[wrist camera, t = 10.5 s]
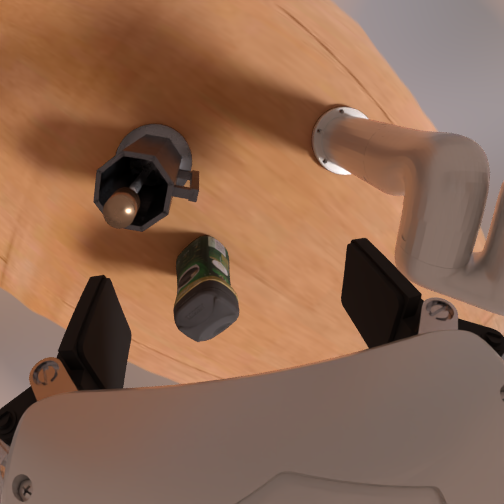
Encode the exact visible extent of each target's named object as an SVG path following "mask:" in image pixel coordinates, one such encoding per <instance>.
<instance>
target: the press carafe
mask: <svg viewBox="0 0 504 504" xmlns="http://www.w3.org/2000/svg"><path fill="white" fill-rule="evenodd" d="M131 157H133V158H139V159H145V160H151V161H152V162H153V163H154V164H155V166H156V167H157V169H158V170H159V172H160V173H161V175H162V176H163V177H164V179H165V180H166V181H165V182H163V183H161V184H159V185H155V186H148V185H144V184H143V185H142V187H141V188H140V190H139V192H138V193H137V194H138V196H139V198H140V207H139V209H138V211H137V213H136V215H135V217H134V219H133V221H132V223H131V224H130V225H129V226H127V227H125V228H124V229H130V230H136V231H141V232H143V231H144V230H146V229H147V228H149V227H150V226H152V225H153V224H155V223H156V222H158V221H159V220H161V219H162V218H164V217H165V216H167V215H168V214H169V210H170V206H171V202H172V198H173V196H174V197H180V198H185V199H188V201H193V202H196V201H197V196H198V192H199V171H194V170H193V171H191V167H192V155H191V150H190V148H189V145H188V143H187V141H186V140H185V138H184V137H183V136H182V135H181V134H180V133H179V132H178V131H176V130H175V129H173V128H171V127H169V126H166V125H162V124H148V125H144V126H141V127H139V128H137V129H135V130H133V131H132V132H130V133H129V134H128V135H127V136H126V137H125V138H124V139H123V140H122V142H121V143H120V145H119V147H118V149H117V152H116V156H114V157H113V158H112V159H110V160H109V161H108V162H107V163H105V164H104V165H103V166H102V167H100V168H99V169H98V170H97V173H96V182H95V192H94V203H95V204H96V206H97V207H98V208H99V210H100V211H101V212H102V214H103V207H104V205H105V203H106V202H107V201H108V199H109V198H110V197H111V196H112V194H113V193H114V192H115V191H116V190H118V189H119V188H123V187H127V188H129V187H130V186H131V185H132V183H133V182H134V181H135V177H134V176H133V174H132V172H131V168H130V161H131ZM187 180H190V187H184V184H185V183H186V181H187Z"/></svg>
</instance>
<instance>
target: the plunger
mask: <svg viewBox="0 0 504 504" xmlns="http://www.w3.org/2000/svg"><path fill="white" fill-rule="evenodd" d="M130 168H131V172H132V174H133V176H134V177H135V181H134V182H133V183H132V185H131V186H130V187H129V188H127V187H123V188H119V189H118V190H116V191H115V192H114V193H113V194H112V196H111V197H110V198H109V199H108V201H107V202H106V203H105V205H104V207H103V216H104V219H105V220H106V222H107V223H108V224H109V225H110V226H112V227H114V228H119V229H121V228H125V227H127V226H129V225H130V224H131V223H132V221H133V219H134V217H135V215H136V213H137V211H138V209H139V207H140V198H139V196H138V194H137V193H138V192H139V190H140V188H141V187H142V185H143V184H144V185H148V186H155V185H159V184H161V183H163V182H165V181H166V180H165V179H164V177H163V176H162V175H161V173H160V172H159V170H158V169H157V167H156V166H155V164H154V163H153V162H152V161H151V160H145V159H139V158H133V157H131V161H130Z"/></svg>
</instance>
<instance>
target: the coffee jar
mask: <svg viewBox="0 0 504 504" xmlns="http://www.w3.org/2000/svg"><path fill="white" fill-rule="evenodd" d="M176 272H177V297H176V301H175V304H174V320H175V323H176V326H177V328H178V329H179V330H180V331H181V332H182V333H184V334H185V335H186V336H188V337H189V338H191V339H193V340H195V341H197V342H199V341H206V340H209V339H212V338H213V337H215V336H216V335H218V334H220V333H221V332H222V331H224V330H225V329H226V328H228V327H229V326H230V325H231V324H232V323H234V322H235V321H236V320H237V318H238V316H239V306H238V297H237V295H236V293H235V291H234V290H233V288H232V287H231V284H230V274H229V256H228V252H227V250H226V249H225V247H224V246H223V245H222V244H221V243H220V242H219V241H218V240H216V239H215V238H213V237H211V236H202V237H199V238H198V239H196V240H195V241H193V242H192V243H191V244H190V245H189V246H187V247H186V248H185V249H184V250H183V251H182V253H181V254H180V255H179V256H178V258H177V261H176Z"/></svg>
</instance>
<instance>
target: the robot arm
mask: <svg viewBox="0 0 504 504" xmlns="http://www.w3.org/2000/svg"><path fill="white" fill-rule="evenodd" d="M339 110H340V113H339ZM317 130H319V132H317ZM312 147H313V151H314V154H315V157H316V158H317V160H318V161H319V163H320V164H321V165H322V166H323V167H324V168H326V169H327V170H329V171H331V172H333V173H336V174H340V175H349V174H353V175H355V176H357V177H359V178H360V179H362V180H364V181H366V182H367V183H369V184H371V185H372V186H374V187H376V188H377V189H379V190H381V191H382V192H384V193H387V194H389V195H394V196H403V195H404V201H403V210H402V216H401V221H400V226H399V231H398V236H397V242H396V247H395V263H396V266H397V268H398V269H397V268H396V267H395V266H394V265H393V264H392V263H391V262H390V261H389V260H388V259H387V258H386V257H385V256H384V255H383V254H382V253H381V252H380V251H379V250H378V249H377V248H376V247H375V246H374V245H373V244H372V243H371V242H370V241H369V240H368V239H366V238H361V239H354V240H352V241H351V243H350V244H348V245H347V251H346V261H345V270H344V279H343V287H342V295H341V301H342V305H343V307H344V308H345V310H346V312H347V313H348V315H349V316H350V318H351V320H352V321H353V323H354V324H355V326H356V328H357V329H358V331H359V333H360V334H361V336H362V338H363V339H364V341H365V342H366V344H367V346H368V347H369V349H365V350H362V351H358V352H354V353H351V354H347V355H343V356H339V357H335V358H331V359H327V360H323V361H318V362H314V363H310V364H305V365H300V366H296V367H291V368H286V369H281V370H276V371H270V372H265V373H259V374H253V375H247V376H241V377H235V378H228V379H221V380H213V381H205V382H197V383H188V384H178V385H167V386H155V387H140V388H123V385H124V378H125V371H126V365H127V359H128V354H129V348H130V343H131V330H130V328H129V325H128V323H127V320H126V318H125V316H124V313H123V311H122V308H121V306H120V303H119V301H118V298H117V295H116V293H115V290H114V287H113V285H112V282H111V280H110V278H106V277H105V276H104V275H100V276H93V277H90V279H89V281H88V283H87V285H86V287H85V289H84V291H83V293H82V295H81V297H80V300H79V302H78V304H77V306H76V308H75V311H74V313H73V315H72V318H71V320H70V322H69V325H68V327H67V329H66V332H65V334H64V337H63V339H62V342H61V344H60V347H59V350H58V352H59V353H58V355H57V358H54V357H49V358H45V359H43V360H41V361H39V362H38V363H37V364H36V365H35V366H34V367H33V368H32V370H31V372H30V376H29V380H30V384H31V387H29V388H28V389H27V390H25V391H24V392H22V393H21V394H20V395H18V396H17V397H16V398H14V399H13V400H12V401H10V402H9V403H8V404H6V405H5V406H4V407H2V408H1V409H0V504H504V337H503V335H502V334H501V333H500V332H498V331H497V330H494V329H492V328H489V327H485V326H482V325H478V324H475V323H472V322H468V321H465V320H461V319H458V313H457V310H456V308H455V307H454V306H453V305H452V304H451V303H450V302H448V301H447V300H444V299H441V298H429V299H427V300H425V301H423V300H422V299H421V295H422V294H421V293H420V292H419V291H418V290H417V289H416V288H415V287H414V286H413V285H412V284H411V283H410V281H411V282H413V283H415V284H417V285H419V286H421V287H424V288H426V289H429V290H431V291H434V292H437V293H440V294H442V295H445V296H448V297H451V298H454V299H456V300H459V301H462V302H465V303H467V304H470V305H473V306H475V307H478V308H481V309H484V310H486V311H489V312H492V313H495V314H498V315H502V316H504V181H503V183H502V185H501V188H500V192H499V195H498V199H497V202H496V206H495V211H494V214H493V218H492V222H491V226H490V229H489V233H488V236H487V240H486V243H485V246H484V249H483V251H482V252H478V253H476V252H472V251H473V248H474V245H475V241H476V238H477V235H478V231H479V229H480V225H481V221H482V218H483V213H484V209H485V205H486V200H487V196H488V190H489V181H490V169H489V163H488V159H487V156H486V154H485V152H484V150H483V149H482V148H481V147H480V145H479V144H478V143H476V142H475V141H473V140H472V139H470V138H467V137H465V136H462V135H459V134H454V133H447V132H430V131H421V130H415V129H410V128H405V127H401V126H397V125H393V124H388V123H384V122H379V121H375V120H370V119H368V118H367V116H366V115H364V114H363V113H362V112H360V111H359V110H357V109H354V108H351V107H336V108H333V109H331V110H328V111H327V112H326V113H324V114H323V115H322V116H321V117H320V118H319V120H318V121H317V123H316V125H315V127H314V130H313V134H312ZM323 160H324V161H323ZM409 280H410V281H409Z"/></svg>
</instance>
